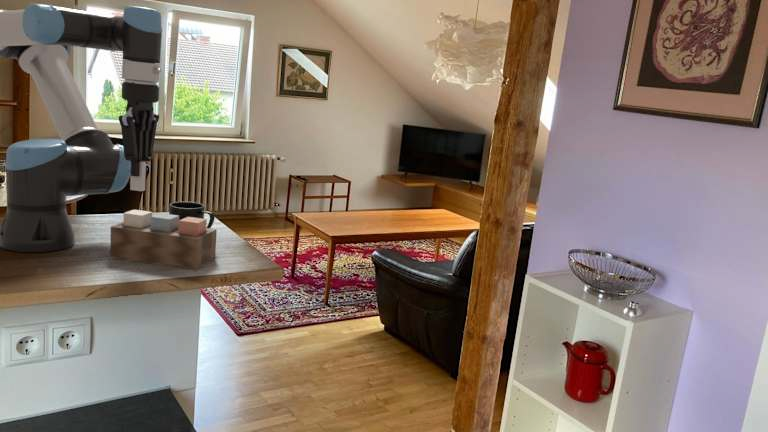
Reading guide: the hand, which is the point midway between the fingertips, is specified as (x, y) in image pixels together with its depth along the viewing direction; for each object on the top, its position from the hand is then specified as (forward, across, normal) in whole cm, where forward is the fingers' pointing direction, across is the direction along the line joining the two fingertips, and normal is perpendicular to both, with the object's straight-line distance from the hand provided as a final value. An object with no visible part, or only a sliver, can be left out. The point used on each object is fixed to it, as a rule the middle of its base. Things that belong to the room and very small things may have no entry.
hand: (137, 190), depth 141 cm
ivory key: (+12, 0, 0) cm, 12 cm away
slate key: (+12, 0, -7) cm, 14 cm away
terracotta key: (+12, 0, -13) cm, 18 cm away
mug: (+15, +14, -7) cm, 21 cm away
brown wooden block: (+15, 0, -7) cm, 16 cm away
